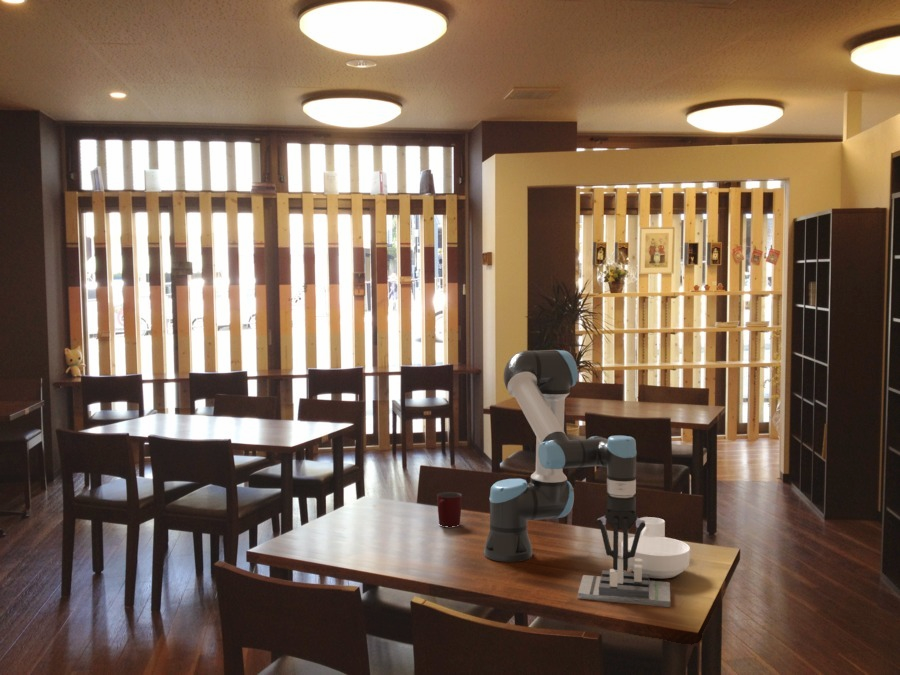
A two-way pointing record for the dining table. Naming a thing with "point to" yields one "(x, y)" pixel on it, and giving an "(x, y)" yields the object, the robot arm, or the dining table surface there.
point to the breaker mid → (637, 573)
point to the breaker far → (638, 561)
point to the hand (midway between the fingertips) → (620, 581)
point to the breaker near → (613, 578)
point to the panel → (625, 599)
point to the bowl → (659, 556)
